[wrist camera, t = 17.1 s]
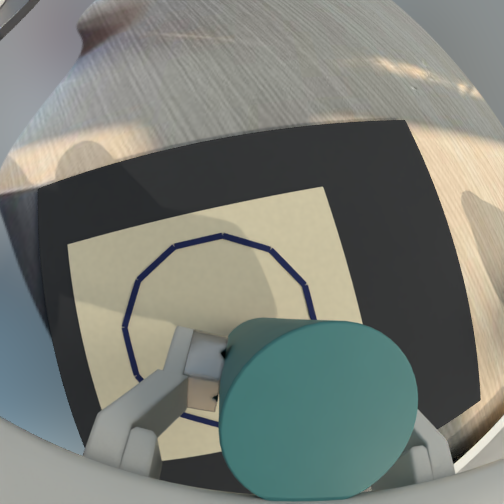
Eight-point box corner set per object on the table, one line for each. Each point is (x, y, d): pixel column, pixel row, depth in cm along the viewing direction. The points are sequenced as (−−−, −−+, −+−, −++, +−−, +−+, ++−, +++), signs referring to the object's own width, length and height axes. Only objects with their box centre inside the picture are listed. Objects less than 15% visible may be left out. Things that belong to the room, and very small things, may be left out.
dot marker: (231, 398, 14) (250, 529, 4) (211, 327, 14) (191, 354, 4) (303, 379, 14) (425, 461, 4) (286, 308, 15) (400, 293, 5)
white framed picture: (360, 516, 13) (373, 533, 11) (513, 390, 15) (532, 393, 13) (383, 564, 12) (395, 578, 10) (518, 453, 14) (534, 458, 12)
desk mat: (119, 514, 12) (117, 519, 11) (40, 190, 15) (36, 187, 15) (477, 399, 15) (482, 400, 15) (402, 122, 19) (405, 118, 18)
